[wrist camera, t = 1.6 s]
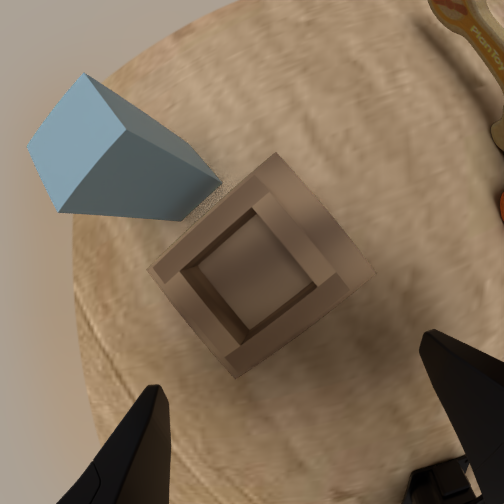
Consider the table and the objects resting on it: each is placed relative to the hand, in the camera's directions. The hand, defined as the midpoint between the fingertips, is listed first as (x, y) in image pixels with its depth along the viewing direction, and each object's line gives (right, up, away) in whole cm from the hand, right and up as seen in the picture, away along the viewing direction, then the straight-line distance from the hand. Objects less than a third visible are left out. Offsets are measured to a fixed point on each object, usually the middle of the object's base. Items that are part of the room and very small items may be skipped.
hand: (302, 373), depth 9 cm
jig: (-1, +3, +11) cm, 12 cm away
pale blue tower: (-6, +9, +12) cm, 16 cm away
